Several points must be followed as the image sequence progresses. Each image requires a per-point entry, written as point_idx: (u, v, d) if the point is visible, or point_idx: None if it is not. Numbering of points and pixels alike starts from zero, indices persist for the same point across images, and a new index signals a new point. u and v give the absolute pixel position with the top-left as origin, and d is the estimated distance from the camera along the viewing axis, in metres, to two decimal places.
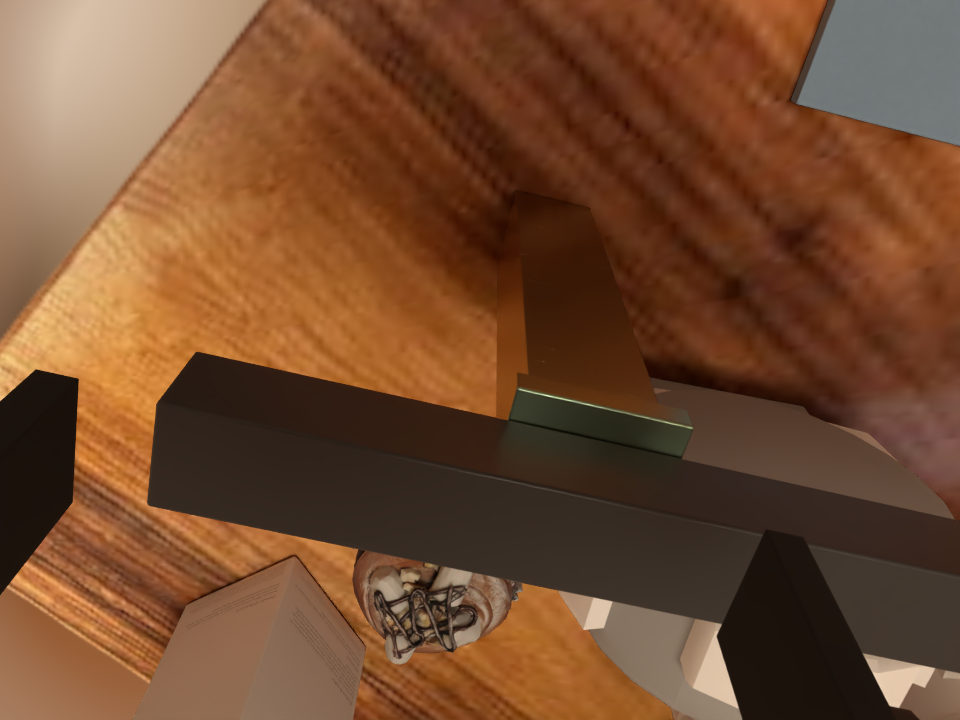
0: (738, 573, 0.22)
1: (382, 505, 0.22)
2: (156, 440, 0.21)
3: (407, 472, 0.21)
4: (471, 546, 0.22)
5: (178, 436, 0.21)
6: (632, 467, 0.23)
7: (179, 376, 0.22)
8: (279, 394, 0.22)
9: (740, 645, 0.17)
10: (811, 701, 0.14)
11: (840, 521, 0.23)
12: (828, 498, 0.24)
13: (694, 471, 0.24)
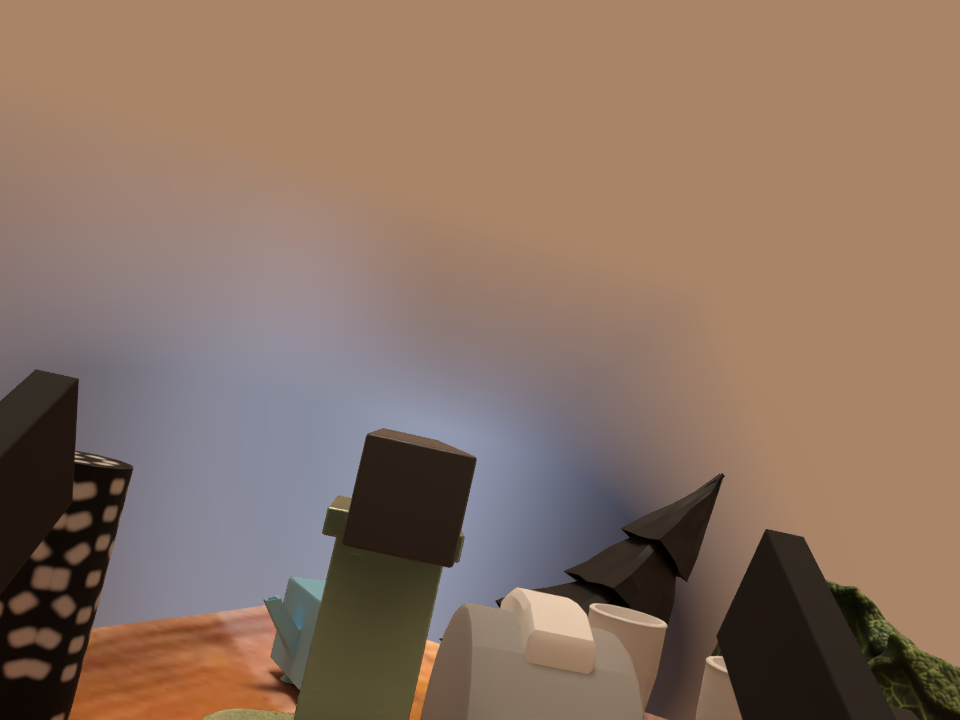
0: None
1: (417, 440, 0.29)
2: (404, 441, 0.23)
3: (385, 433, 0.29)
4: None
5: (396, 438, 0.24)
6: None
7: None
8: None
9: (740, 645, 0.17)
10: (811, 701, 0.14)
11: None
12: None
13: None
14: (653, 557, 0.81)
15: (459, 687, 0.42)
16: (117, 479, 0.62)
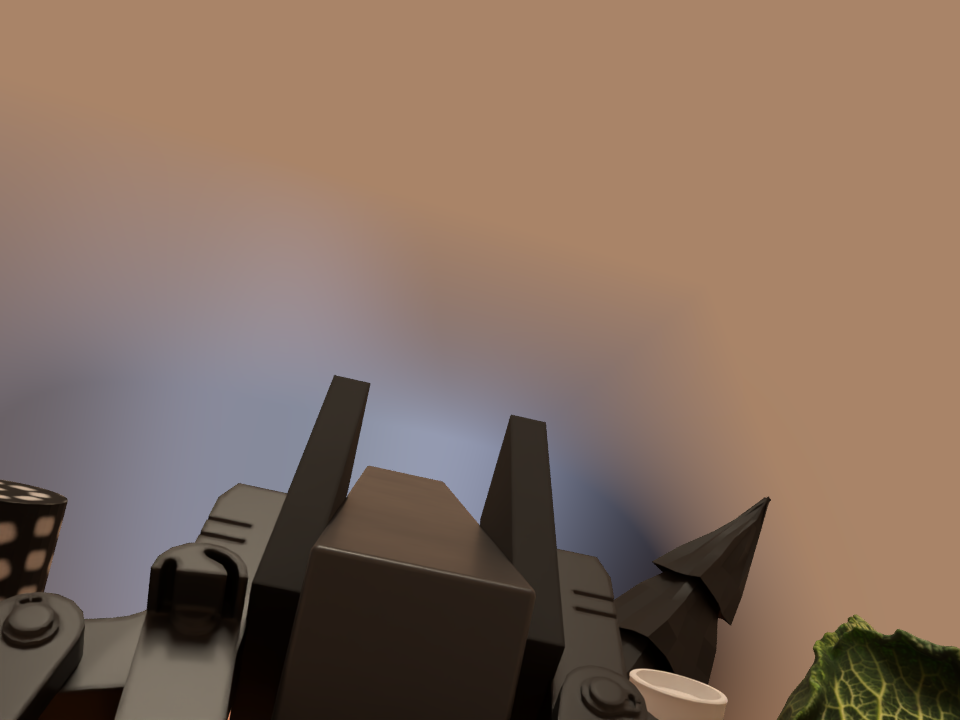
0: (402, 485, 0.26)
1: (415, 519, 0.17)
2: (389, 558, 0.11)
3: (361, 506, 0.17)
4: (442, 514, 0.19)
5: (373, 548, 0.12)
6: None
7: (286, 654, 0.11)
8: None
9: (486, 520, 0.18)
10: (502, 546, 0.15)
11: None
12: None
13: None
14: (692, 597, 0.69)
15: None
16: (44, 517, 0.50)
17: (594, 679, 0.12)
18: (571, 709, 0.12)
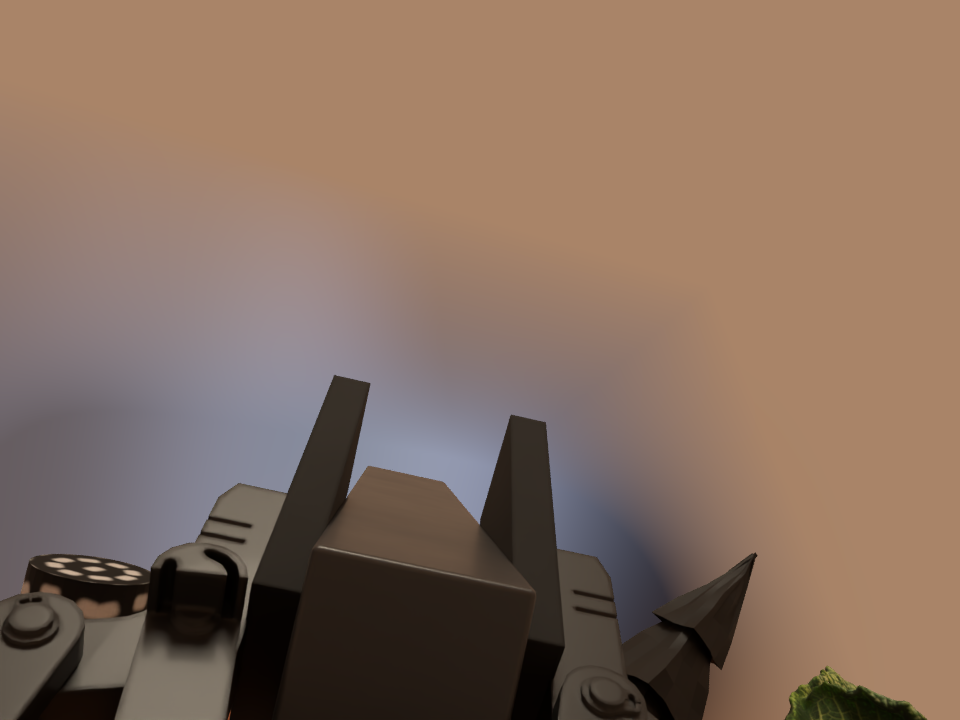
0: (402, 485, 0.26)
1: (416, 520, 0.17)
2: (391, 559, 0.11)
3: (362, 506, 0.17)
4: (442, 514, 0.19)
5: (373, 549, 0.12)
6: None
7: (287, 655, 0.11)
8: None
9: (487, 520, 0.18)
10: (502, 546, 0.15)
11: None
12: None
13: None
14: (687, 646, 0.79)
15: None
16: (140, 595, 0.60)
17: (594, 679, 0.12)
18: (571, 709, 0.12)
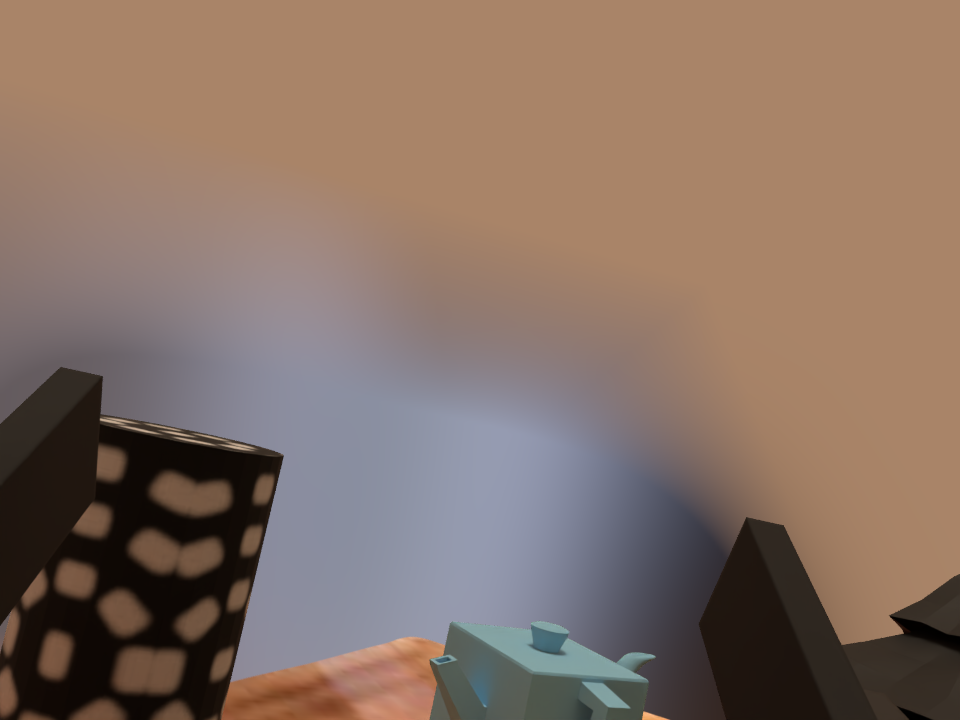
0: None
1: None
2: None
3: None
4: None
5: None
6: None
7: None
8: None
9: (721, 632, 0.17)
10: (787, 684, 0.14)
11: None
12: None
13: None
14: None
15: None
16: (264, 476, 0.33)
17: None
18: None
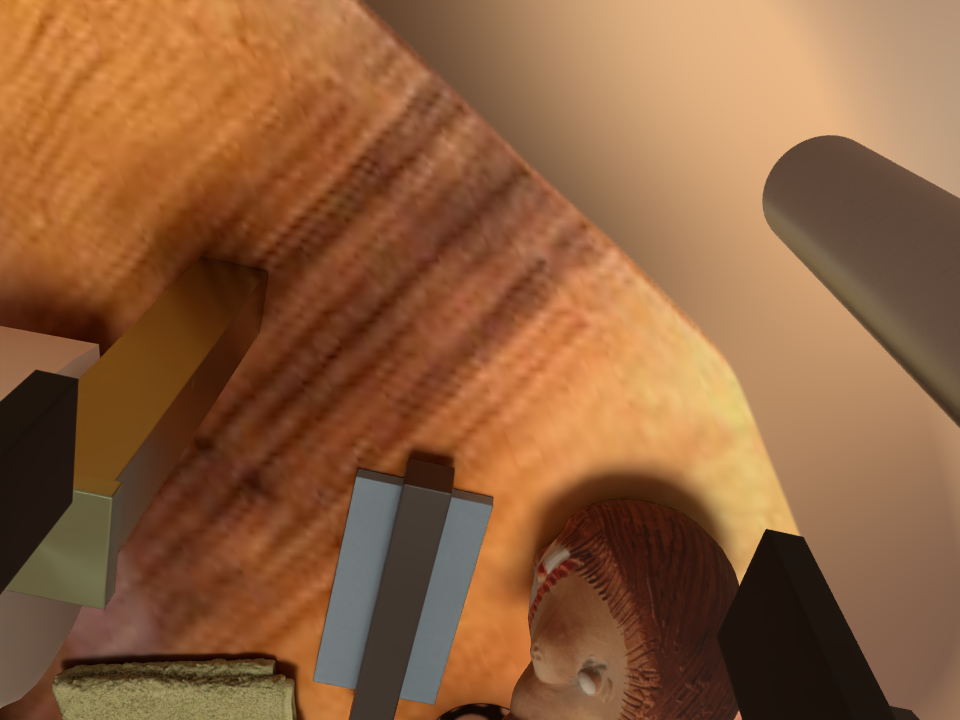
0: (386, 670, 0.59)
1: (410, 563, 0.55)
2: (435, 491, 0.53)
3: (425, 571, 0.56)
4: (392, 590, 0.56)
5: (437, 499, 0.53)
6: None
7: (453, 481, 0.54)
8: None
9: (740, 645, 0.17)
10: (811, 701, 0.14)
11: None
12: None
13: None
14: None
15: None
16: None
17: None
18: None
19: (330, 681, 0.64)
